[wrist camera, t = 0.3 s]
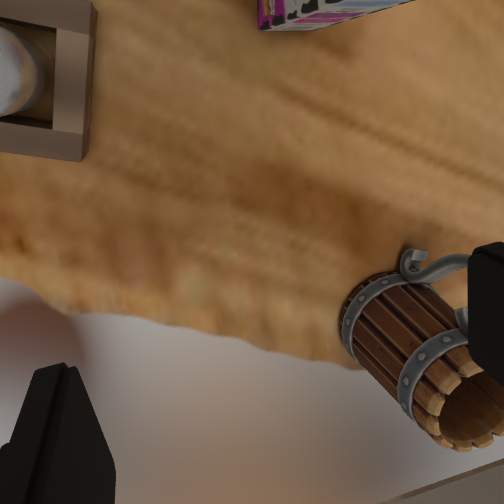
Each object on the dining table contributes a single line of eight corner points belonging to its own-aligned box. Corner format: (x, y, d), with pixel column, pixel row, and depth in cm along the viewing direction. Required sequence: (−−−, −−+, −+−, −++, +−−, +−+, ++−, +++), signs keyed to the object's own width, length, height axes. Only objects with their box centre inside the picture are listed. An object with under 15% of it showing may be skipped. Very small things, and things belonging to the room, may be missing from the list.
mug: (412, 362, 52) (511, 465, 38) (325, 357, 49) (398, 466, 35) (459, 228, 47) (592, 290, 33) (366, 213, 44) (469, 274, 30)
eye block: (-62, -23, 31) (-96, -40, 26) (97, 12, 34) (91, 1, 29) (-58, 131, 34) (-88, 139, 29) (88, 151, 37) (81, 162, 32)
